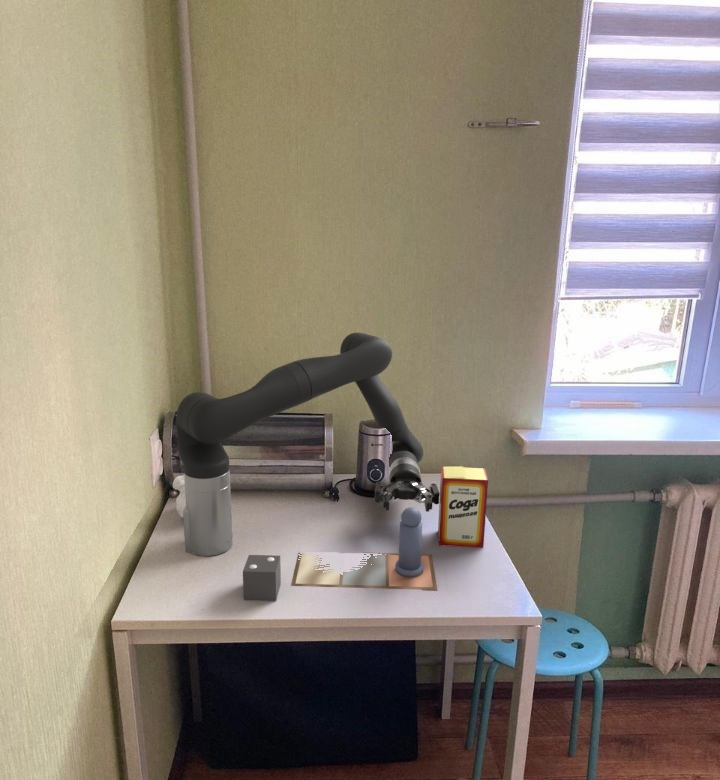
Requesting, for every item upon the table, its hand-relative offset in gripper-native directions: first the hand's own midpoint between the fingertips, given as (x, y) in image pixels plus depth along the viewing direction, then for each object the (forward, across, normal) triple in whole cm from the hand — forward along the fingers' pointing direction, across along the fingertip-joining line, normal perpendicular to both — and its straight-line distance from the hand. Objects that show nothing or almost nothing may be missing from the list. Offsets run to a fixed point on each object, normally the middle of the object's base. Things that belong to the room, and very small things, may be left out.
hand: (407, 507), depth 142 cm
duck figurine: (-11, -50, +9) cm, 52 cm away
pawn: (+11, 0, +9) cm, 14 cm away
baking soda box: (-3, +12, +9) cm, 15 cm away
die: (+20, -28, +9) cm, 35 cm away
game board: (+11, -9, +9) cm, 17 cm away
